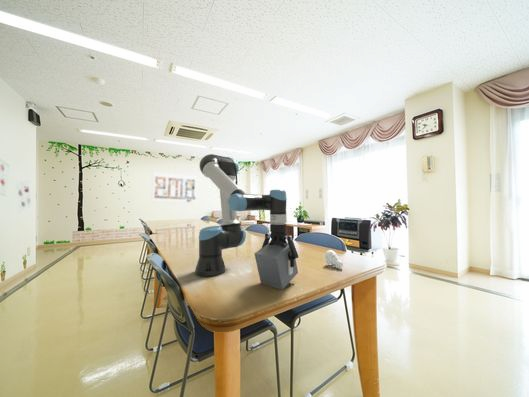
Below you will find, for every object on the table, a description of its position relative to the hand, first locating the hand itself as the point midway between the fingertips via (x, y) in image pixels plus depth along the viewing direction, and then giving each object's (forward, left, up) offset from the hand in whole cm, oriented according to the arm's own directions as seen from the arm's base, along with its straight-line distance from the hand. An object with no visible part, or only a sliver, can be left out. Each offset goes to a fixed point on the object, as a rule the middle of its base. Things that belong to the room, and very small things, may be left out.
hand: (278, 271), depth 92 cm
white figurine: (+11, +39, -5) cm, 41 cm away
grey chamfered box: (0, +1, -3) cm, 3 cm away
